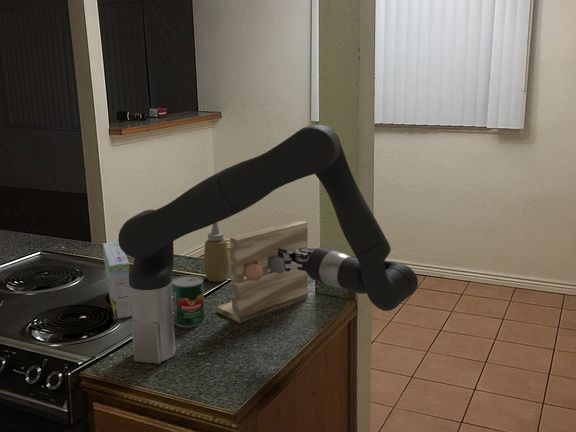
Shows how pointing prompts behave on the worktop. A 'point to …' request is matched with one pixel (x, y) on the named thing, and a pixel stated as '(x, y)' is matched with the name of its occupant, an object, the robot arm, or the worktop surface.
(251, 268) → the terracotta button
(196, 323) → the canned tomato
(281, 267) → the grey button
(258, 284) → the button panel
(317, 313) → the worktop surface
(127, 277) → the snack box
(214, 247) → the squeeze bottle
